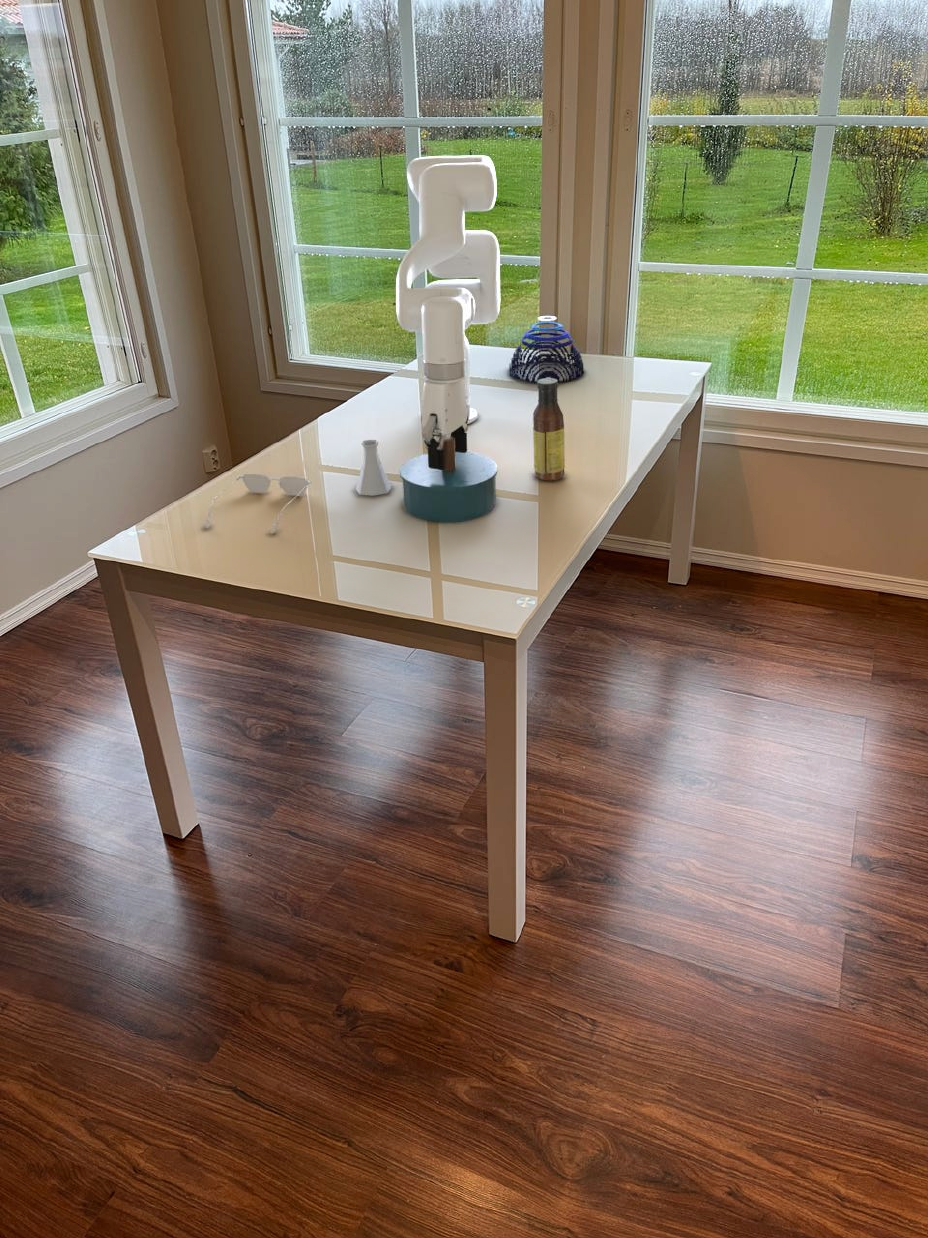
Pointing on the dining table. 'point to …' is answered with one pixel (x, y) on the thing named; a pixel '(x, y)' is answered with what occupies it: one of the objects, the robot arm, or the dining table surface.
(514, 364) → the decorative bowl
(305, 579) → the dining table surface
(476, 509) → the pot
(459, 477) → the lid
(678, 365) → the dining table surface
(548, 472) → the sauce bottle
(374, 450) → the flask
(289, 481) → the eyeglasses
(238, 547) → the dining table surface
